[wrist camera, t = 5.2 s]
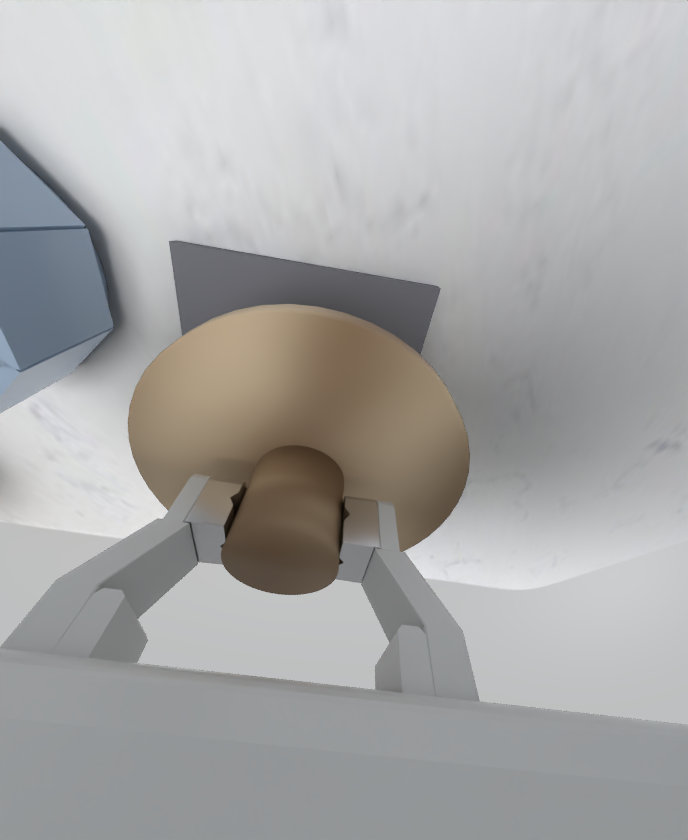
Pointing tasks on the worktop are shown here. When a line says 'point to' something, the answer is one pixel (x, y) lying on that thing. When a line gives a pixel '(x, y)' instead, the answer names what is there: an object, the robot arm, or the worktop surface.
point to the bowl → (44, 286)
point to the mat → (295, 290)
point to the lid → (299, 434)
